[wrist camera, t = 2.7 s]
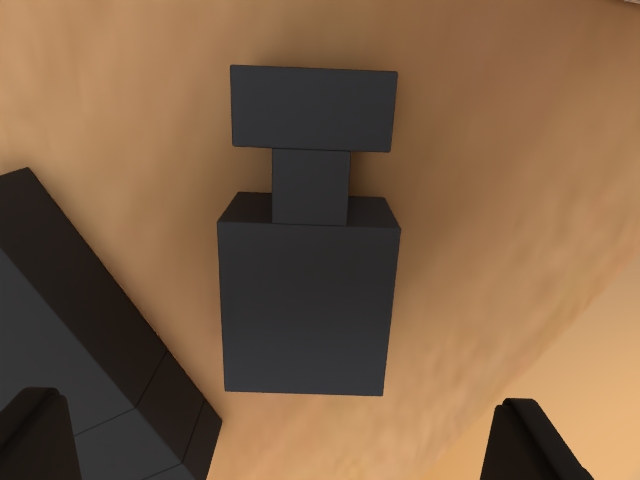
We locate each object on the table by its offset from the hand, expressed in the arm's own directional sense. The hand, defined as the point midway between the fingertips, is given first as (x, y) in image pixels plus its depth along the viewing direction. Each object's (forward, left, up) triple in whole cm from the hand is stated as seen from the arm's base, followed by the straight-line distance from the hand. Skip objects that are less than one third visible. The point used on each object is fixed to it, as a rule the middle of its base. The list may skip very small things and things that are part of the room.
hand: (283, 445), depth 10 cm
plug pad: (-1, -1, -11) cm, 11 cm away
